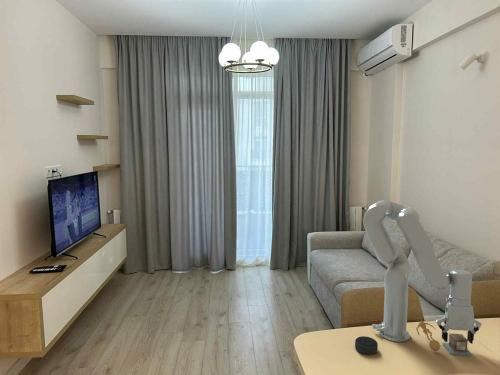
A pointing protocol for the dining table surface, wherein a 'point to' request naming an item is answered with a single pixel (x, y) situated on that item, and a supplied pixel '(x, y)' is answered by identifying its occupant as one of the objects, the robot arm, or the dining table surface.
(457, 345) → the marked cube
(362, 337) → the smart speaker
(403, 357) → the dining table surface
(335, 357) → the dining table surface
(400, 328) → the robot arm
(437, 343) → the figurine
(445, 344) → the rubber mat
